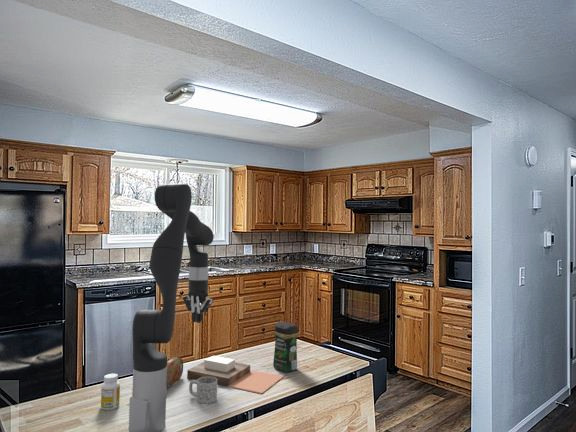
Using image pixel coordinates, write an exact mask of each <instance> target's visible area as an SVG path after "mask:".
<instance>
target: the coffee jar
mask: <svg viewBox="0 0 576 432" xmlns="http://www.w3.org/2000/svg"><path fill="white" fill-rule="evenodd" d="M273 333H274V339H275V340H274V351H273V352H274V354H273V361H272V362H273V363H272V364H273V368H274V369H276V370H278V371H281V372H286V373H287V372H294V371H295V370H297V368H298V355H297V353H298V350H297V349H298V346H297V342H298V336H299V328H298V325H297V324H294V323H289V322H286V321H283V320H282V321H278V322H276V323H275V324H274V332H273Z"/></svg>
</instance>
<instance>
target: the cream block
mask: <svg viewBox="0 0 576 432" xmlns="http://www.w3.org/2000/svg"><path fill="white" fill-rule="evenodd" d="M203 362H204V368H208V369H213V370H218V371H223V372H228V371H230V370H231V369H233V368H235V362H236V359H234V358H228V357H223V356H219V355H218V356H217V355H212V356H210V357H208V358H205V359H204V360H203Z"/></svg>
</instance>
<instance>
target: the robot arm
mask: <svg viewBox="0 0 576 432" xmlns="http://www.w3.org/2000/svg"><path fill="white" fill-rule="evenodd" d="M192 193H193V192H192V188H191V187H190V185H189V184H187V183H181V182H180V183H163V184H160V185H158V186H157V187H156V188H155V191H154V202H155V205H156V207H157V209H158V210H159V211H161V213H163V214H165V216H167V217H169V218H170V219H171V220H170V222H169V224H168V226H167V227H165V229H164V230H163V231H162V232H161V233H160V234H159V236H158V237H157V238H156V240H155V241H154V243H153V245H152V248H151V254H150V260H149V270H150V272H151V275H152V277H153V279H154V281H155V283H156V285H157V286H158V289H159V291H160V293H161V297H162V298H161V299H162V309H139V310H138V311H136V312H135V314H134V316H133V320H132V333H131V335H132V363H133V366H132V369H133V370H132V396H130V397H129V406H128V407H129V409H128V432H161V431H162V430H164V429H165V427H166V421H167V420H166V417H167V413H166V412H167V411H166V410H167V388H166V386H167V361H168V356H167V355H166V354H165V353H163V352H161V351H160V350H157V349H155V348H154V347H152V346H151V345H150V344H168V343H169V342H170V341H171V340H172V337H173V334H174V330H175V329H174V327H175V321H176V320H175V318H176V317H175V316H176V305H177V304H176V303H177V291H178V285H179V278H180V272H181V266H182V260H183V252H184V243H185V241H184V240H186V245H187V247H188V254H189V269H188V270H189V271H188V288H187V289H188V293H187V295H186V296H183V297H182V299H183V302H184V304H185V307H186V309H187V311H188V312H190V313H191V321H192V323H197V324H201V323H202V322H203V315H204V313H206V312H208V310H209V309H210V308H211V305H212V303H213V302H214V299H213V298H210V297H209V294H208V290H209V255H208V252H207V251H204V250H203V251H202V250H200V249H199V248H198V246H204V247H205V246H210V245H211V244H212V243H213V241H214V237H215V236H214V231H213V230H212V229H211V227H209V226H208V225H206V223H203V222H201V220H200V218H199V217H198V216H197V214H195V213H194V212H193V211H191V207H192V206H191V205H192V197H193V194H192Z"/></svg>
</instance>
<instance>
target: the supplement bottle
mask: <svg viewBox="0 0 576 432" xmlns="http://www.w3.org/2000/svg"><path fill="white" fill-rule="evenodd" d="M118 375H119V374H117V373H109V374H106V375H104V376H103V383H102V384H101V385H100V386H101V389H100V392H101V393H100V408H101V409H102V410H104V411H110V410H115V409H117V408H119V407H120V397H121V396H120V395H121V394H120V393H121V392H120V391H121V382H120V381H118V379H119V376H118Z"/></svg>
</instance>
